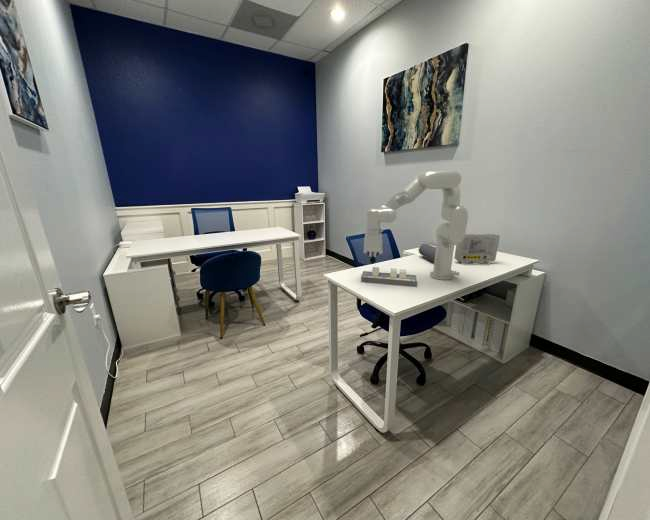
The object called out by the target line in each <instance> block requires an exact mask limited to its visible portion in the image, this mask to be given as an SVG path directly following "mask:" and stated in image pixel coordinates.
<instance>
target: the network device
mask: <svg viewBox="0 0 650 520" xmlns="http://www.w3.org/2000/svg"><path fill="white" fill-rule="evenodd" d="M500 237H501V235H499V234H498V233H497V234H496V233H465V237H464V239H463V240H462V241H461V242H460V243H458V244H455V249H454V250H455V251H454V256H453V259H454V260H455V261H457V262H458V263H459V264H461V265H463V266H491V263H490V262H495V261H496V259H497V253H498V248H499V243H500ZM465 262H466V263H465ZM467 262H468V263H467ZM479 262H480V263H479ZM481 262H482V263H481Z"/></svg>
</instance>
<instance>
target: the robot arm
mask: <svg viewBox="0 0 650 520" xmlns="http://www.w3.org/2000/svg"><path fill="white" fill-rule="evenodd" d="M461 182H462V175H461V174H460V172H459V171H457V170H441V171H435V170H434V171H431V170H430V171H429V170H428V171H422V172H420V173H419V172H418V174H417V175H416V176H415V177H414V178H413V179H411V181H410V182H409V183H408V184H406V186H405V187H404V188H403V189H401V190H399V191H398V192H397V193H396V194H394V195H392V196H391V197H390V198H389V199H388V200H386V201H385V202H383V203H384V204H382V205H381V206H380V207H379V208H373V207H372V208H368V209H367V210H366V232H365V234H364V239H363V240H364V242H363V254H366V255H368V257H369V262H370V263H371V265H372V264H373V265H374V264H375V263H376V259H377V256H379V255H382V254H383V253H384V251H383V248H384V246H383V243H384V242H383V234H382V233H383V232H384V229H383V228H381V226H382V225H381V223H387V224H388V223H392V222H394V221H396V219H397V211H396V210H398V209H399V208H401V207H403V206H405V205H407V204H411V203H413V202H414V201H415V200H416V199H417V198H418V197H420V195H421V194H422V193H424V192H425V190H427V189H428V190H440V189H441V191H442V205H441V212H440V216H441V218H442V219H443V220H444V221H446V222H444V223H441V224H439V225H438V226H437V228H436V232H435V236H436V239H435V240H436V244H435V247H436V252H435V260H434V263H433V268H432V269H433V270H432V271H431V272H430V273H429V276H430V277H431V278H432V279H437V280H442V281H449V280H453V278H454V276H460V271H456V270H452V266H453V259H454V253H455V251H454V250H455V245H456V244H458V243H460V242H461V241H462V240H463V239H464V237H465V234H467V233H466V232H467V226H468V219H469V212H468V210H467V208H466V207H465V206H463V205H460V204H461V188H460V186H459V185H460V183H461ZM448 222H449V223H448Z"/></svg>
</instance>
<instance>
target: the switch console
mask: <svg viewBox="0 0 650 520" xmlns="http://www.w3.org/2000/svg"><path fill="white" fill-rule="evenodd" d="M360 283H371V284H381V285H392V286H403V287H404V286H405V287H414V288H417V286H418V280H417V275H415V274H406V278H399V273H397V278H394V277H390V272H380V271H379V275H378V276H372V271H365V270H363V271H362V274H361V276H360Z"/></svg>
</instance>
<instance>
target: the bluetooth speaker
mask: <svg viewBox="0 0 650 520" xmlns="http://www.w3.org/2000/svg"><path fill="white" fill-rule="evenodd" d="M435 252H436V246H433V245H430V244H427V243H422V244H420V246H419V248H418V253H419V254H420V255H421V256H423V257H424V258H425V259H426V260H428V261H429V262H430V263H433V264H434V260H435Z"/></svg>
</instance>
